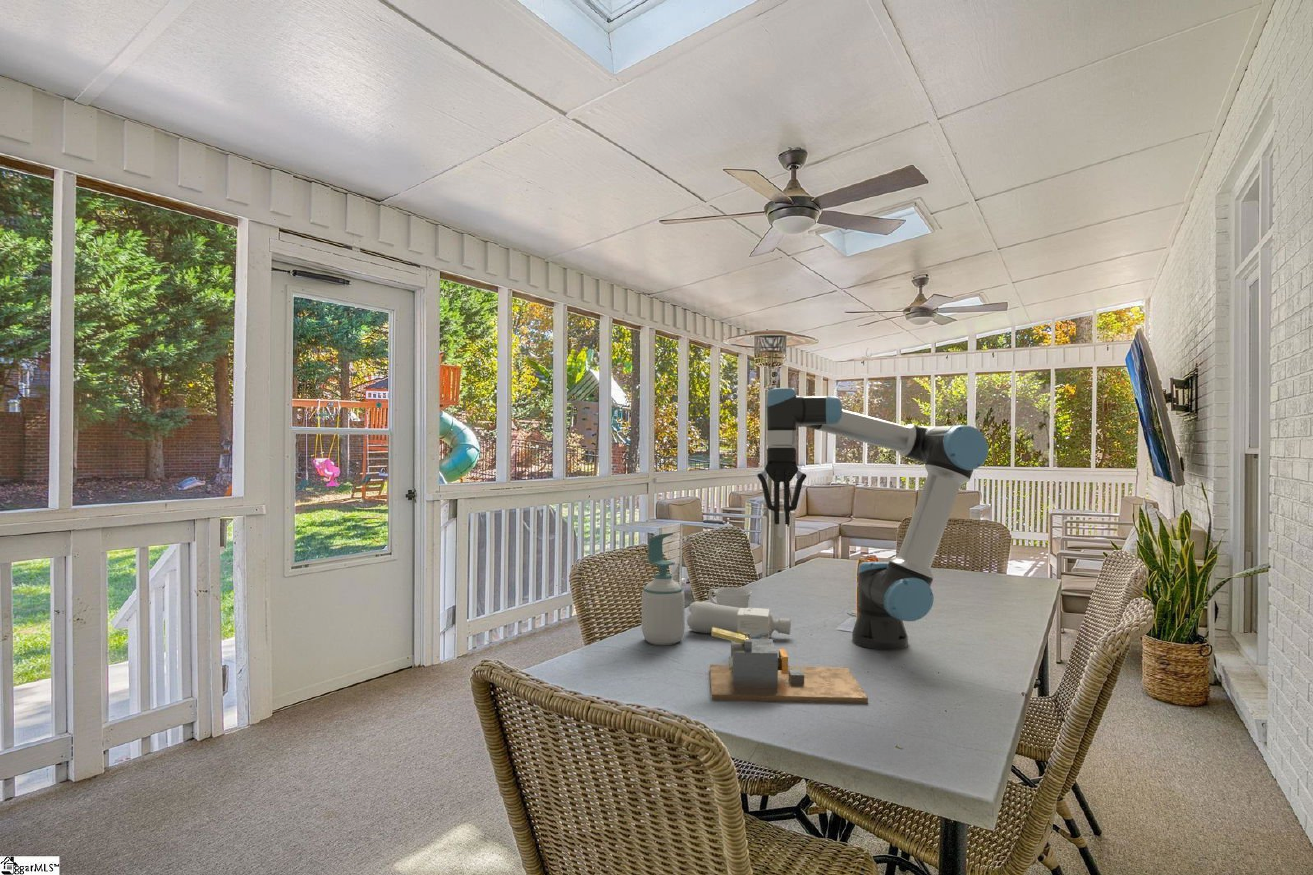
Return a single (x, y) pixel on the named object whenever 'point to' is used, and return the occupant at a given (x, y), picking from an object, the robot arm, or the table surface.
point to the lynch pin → (781, 662)
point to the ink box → (754, 622)
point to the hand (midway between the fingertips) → (781, 536)
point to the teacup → (731, 596)
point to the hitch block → (779, 678)
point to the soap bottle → (662, 600)
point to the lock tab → (728, 635)
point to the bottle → (725, 619)
